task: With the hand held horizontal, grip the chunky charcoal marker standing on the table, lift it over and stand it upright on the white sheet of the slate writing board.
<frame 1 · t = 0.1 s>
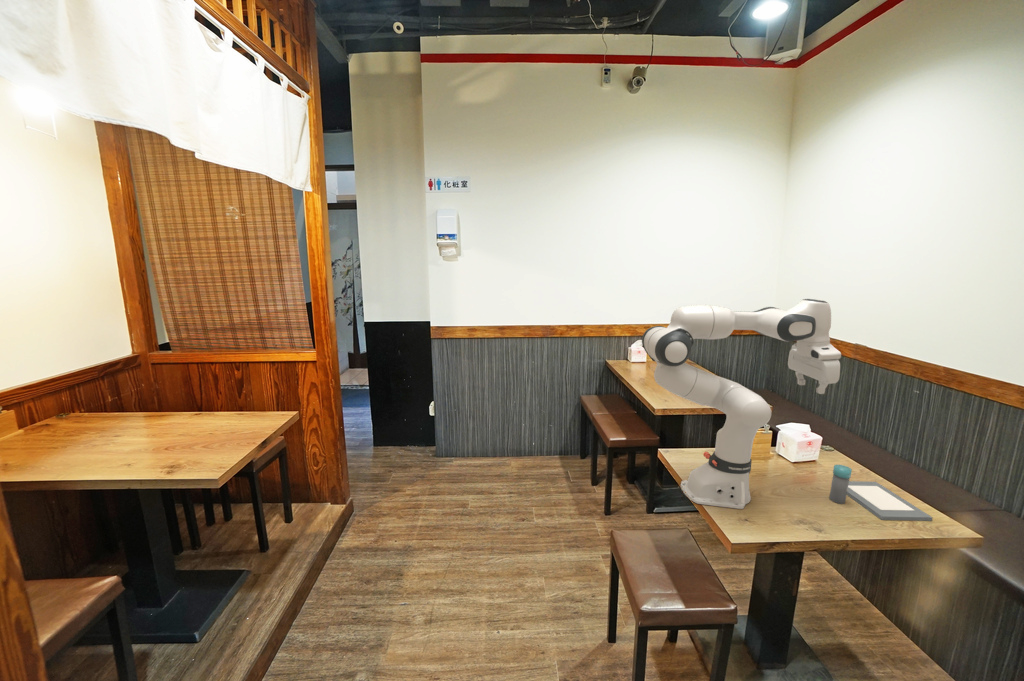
hand: (810, 388, 144), 39 cm above the table, tool pointing down, fingers open, 8 cm apart
writing board: (878, 501, 148), on the table
marker: (837, 500, 148), on the table
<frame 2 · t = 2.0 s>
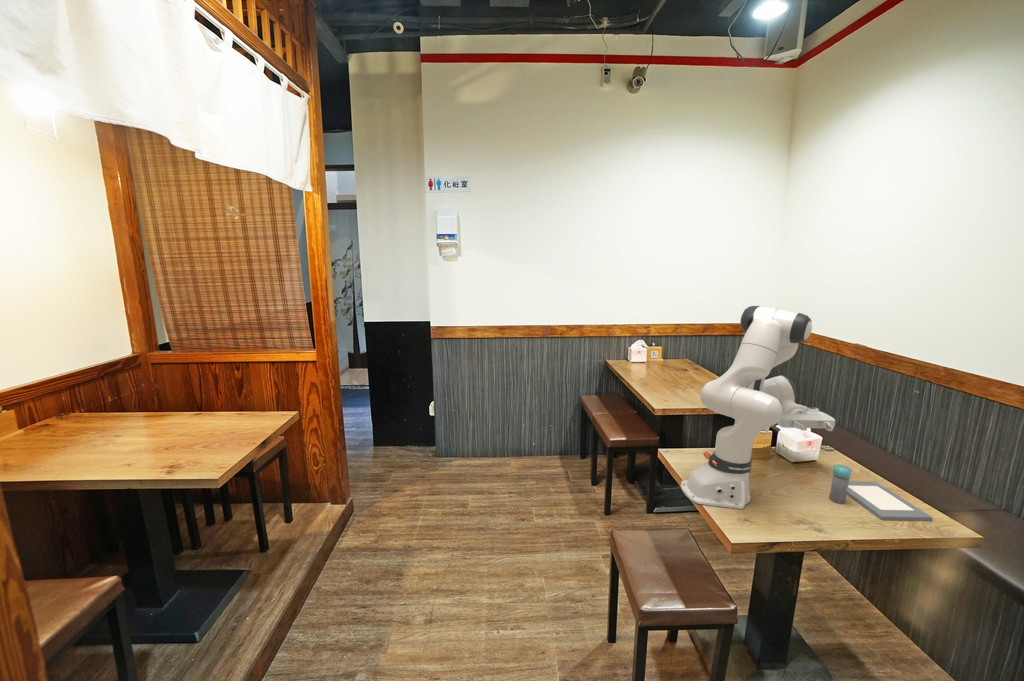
hand: (818, 428, 158), 20 cm above the table, tool horizontal, fingers open, 8 cm apart
nothing on the table moved.
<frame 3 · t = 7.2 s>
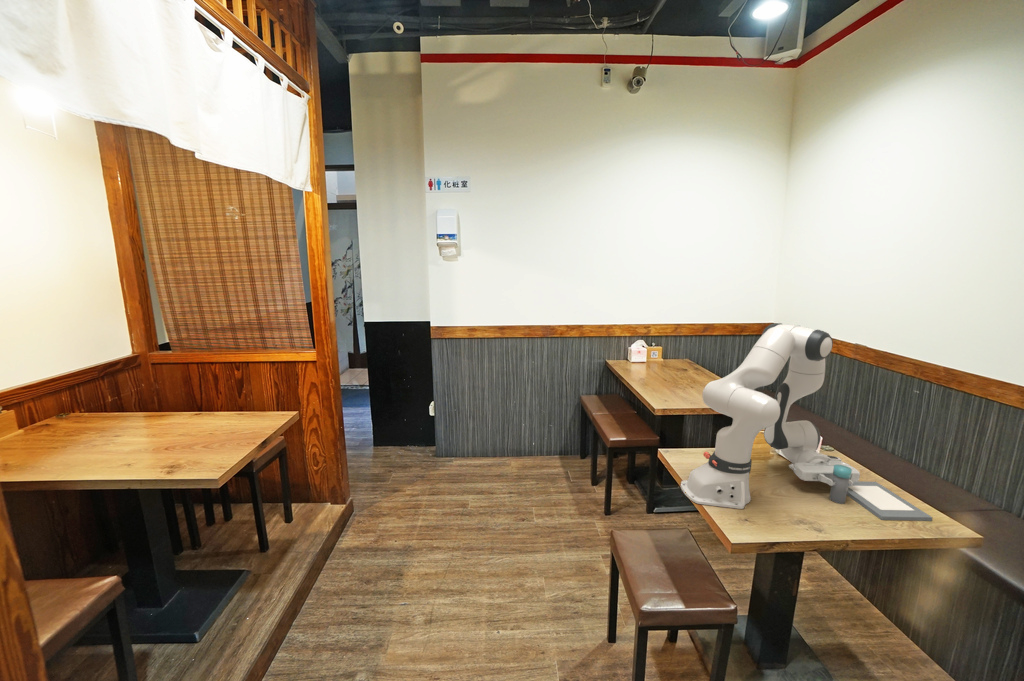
hand: (842, 484, 146), 7 cm above the table, tool horizontal, fingers closed on marker, 4 cm apart
marker: (837, 500, 148), on the table, touching gripper
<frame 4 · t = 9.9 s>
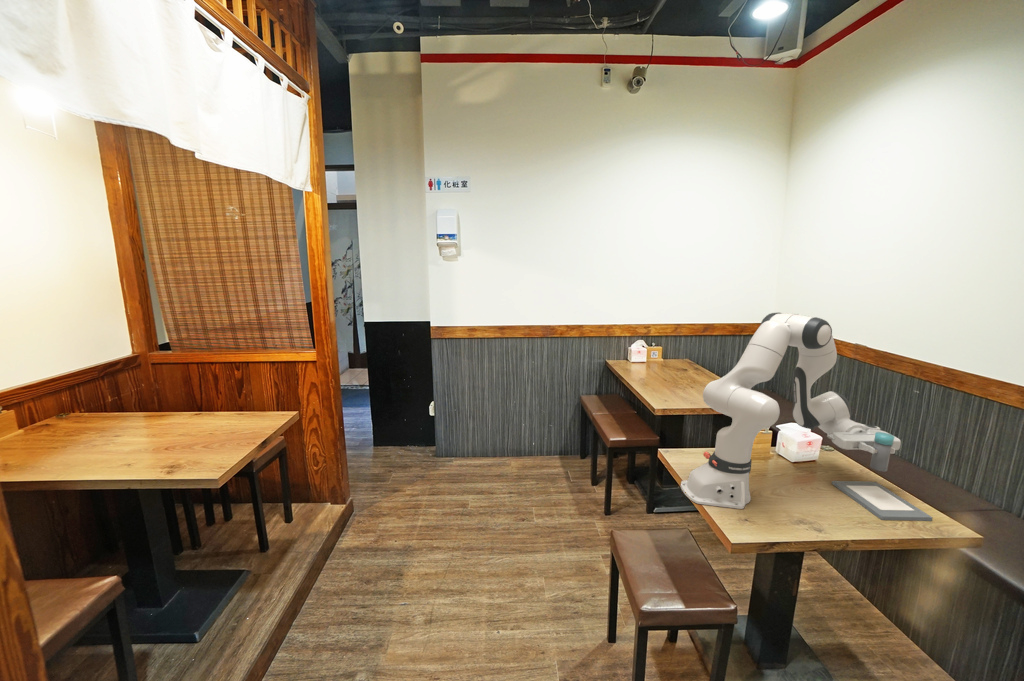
hand: (884, 451, 144), 18 cm above the table, tool horizontal, fingers closed on marker, 4 cm apart
marker: (878, 468, 146), point 12 cm above the table, touching gripper
when the fingers open (9 cm above the table, at t = 12.7 s): marker stays where it is, resting on writing board.
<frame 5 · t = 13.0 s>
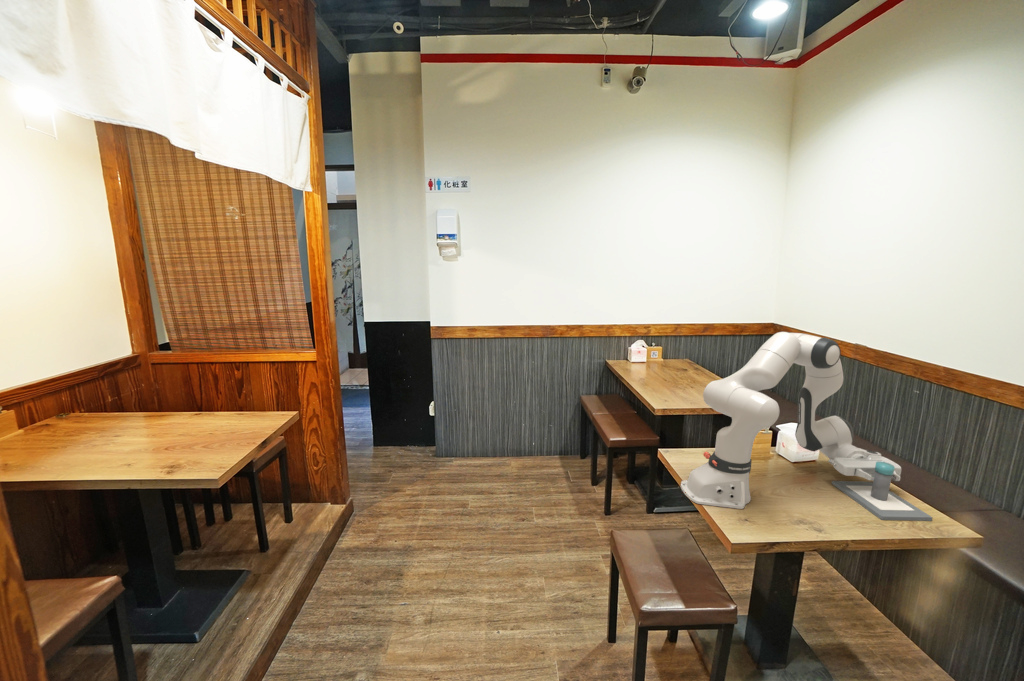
hand: (885, 478, 145), 9 cm above the table, tool horizontal, fingers open, 7 cm apart
marker: (878, 497, 148), point 1 cm above the table, touching writing board
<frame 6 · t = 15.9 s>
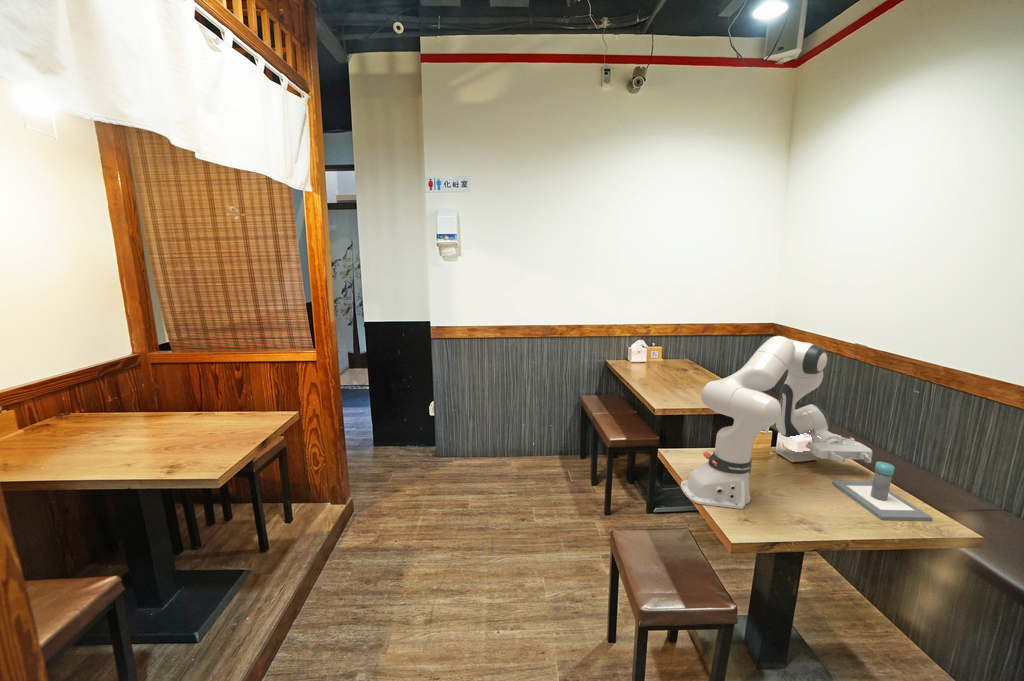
hand: (856, 460, 158), 9 cm above the table, tool horizontal, fingers open, 8 cm apart
nothing on the table moved.
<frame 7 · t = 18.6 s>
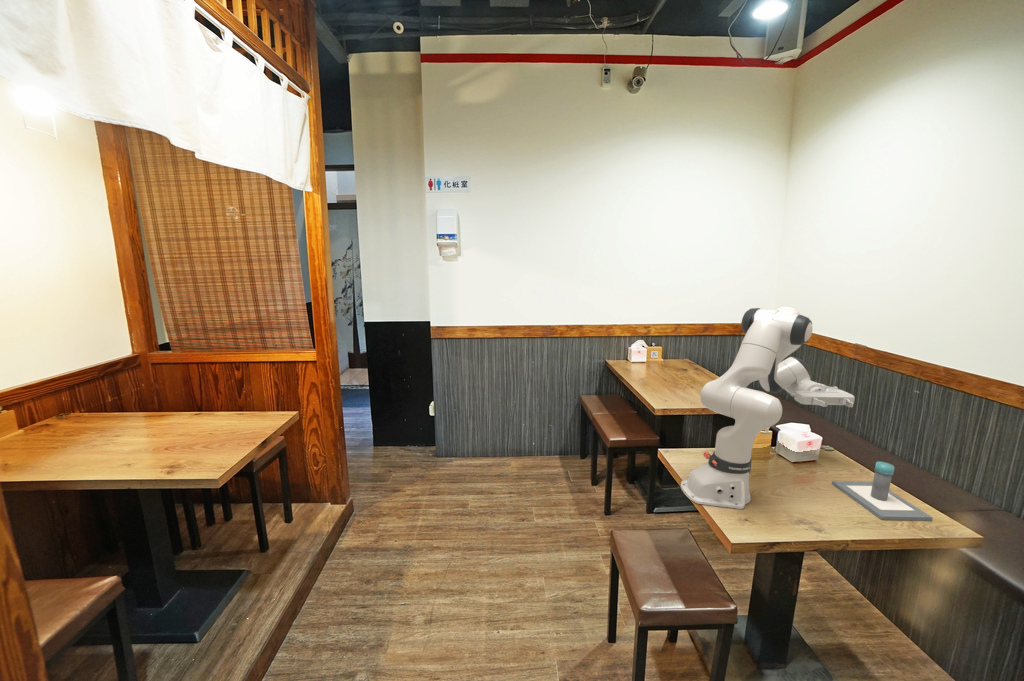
hand: (838, 405, 160), 28 cm above the table, tool horizontal, fingers open, 8 cm apart
nothing on the table moved.
at the end: marker inside the target area on the writing board (0.0 cm from its centre), point 1.4 cm above the writing board's base; marker tilted 0°; the gripper is holding nothing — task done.
